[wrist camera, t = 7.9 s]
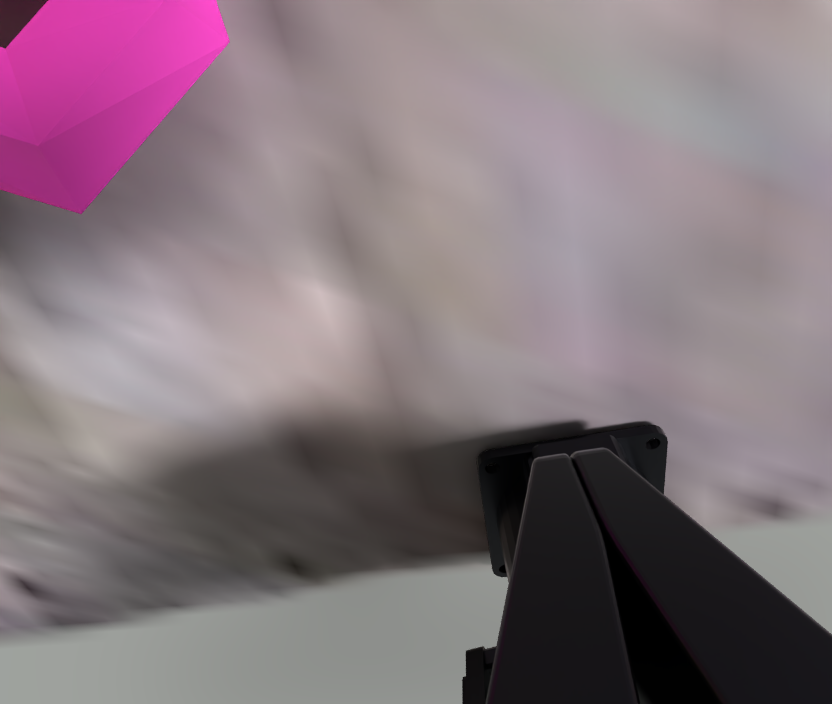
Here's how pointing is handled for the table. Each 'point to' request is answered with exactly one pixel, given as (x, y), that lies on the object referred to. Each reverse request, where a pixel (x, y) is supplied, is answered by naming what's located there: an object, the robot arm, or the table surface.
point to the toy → (95, 89)
